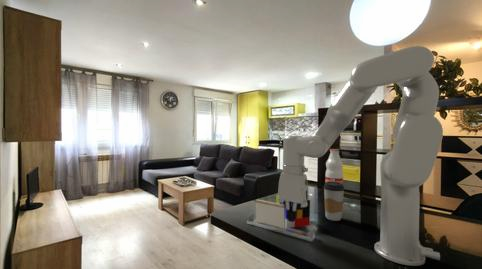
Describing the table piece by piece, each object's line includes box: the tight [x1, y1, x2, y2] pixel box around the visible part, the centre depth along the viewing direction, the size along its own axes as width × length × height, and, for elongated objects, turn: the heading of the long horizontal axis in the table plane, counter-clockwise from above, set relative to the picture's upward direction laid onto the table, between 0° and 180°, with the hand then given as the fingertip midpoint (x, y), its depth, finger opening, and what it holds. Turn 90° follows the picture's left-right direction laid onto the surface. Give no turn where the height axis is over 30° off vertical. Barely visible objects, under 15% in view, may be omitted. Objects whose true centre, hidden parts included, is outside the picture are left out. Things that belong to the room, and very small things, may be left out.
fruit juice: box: [324, 148, 344, 185], centre depth 130 cm, size 9×9×28 cm
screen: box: [255, 198, 286, 228], centre depth 87 cm, size 12×1×8 cm, turn 56°
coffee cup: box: [323, 181, 345, 222], centre depth 98 cm, size 8×8×15 cm
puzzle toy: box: [275, 194, 311, 228], centre depth 94 cm, size 10×10×10 cm
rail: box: [246, 213, 316, 243], centre depth 85 cm, size 26×4×3 cm, turn 56°
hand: (292, 220), depth 82 cm, fingers closed
